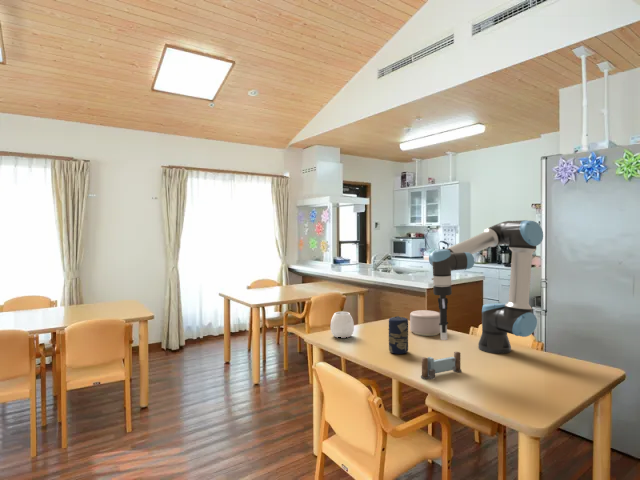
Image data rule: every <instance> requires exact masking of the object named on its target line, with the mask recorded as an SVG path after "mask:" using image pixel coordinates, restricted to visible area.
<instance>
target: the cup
mask: <svg viewBox="0 0 640 480" xmlns="http://www.w3.org/2000/svg"><path fill="white" fill-rule="evenodd" d="M354 328H355V325H354V319H353V317H352V315H351V313H350V312H348V311H336V312H334V313H333V315H332V317H331V320H330V332H331V334H332V336H333V337H335V338H338V337H341V339H345V338H346V337H347V338H349V337H351V336H352V335H353V333H354V330H355V329H354Z"/></svg>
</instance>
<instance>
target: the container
mask: <svg viewBox="0 0 640 480" xmlns="http://www.w3.org/2000/svg"><path fill="white" fill-rule="evenodd" d="M439 323H440V311H435V310H430V309H429V310H427V309H423V310H422V309H421V310H420V309H418V310H413V311H411V312H410V313H409V330H410V331H411V332H412V333H413V334H415V335H418V336H424V337H426V336H427V337H428V336H429V337H430V336H431V337H432V336H433V337H434V336H437V335H439V334H441V333H440V325H439Z"/></svg>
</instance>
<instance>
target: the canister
mask: <svg viewBox="0 0 640 480" xmlns="http://www.w3.org/2000/svg"><path fill="white" fill-rule="evenodd" d="M387 330H388V350H389V352H390V353H391V354H395V355H403V354H407V353H408V352H409V320H408V318H407V317H401V316H399V315H397V316H392V317H390V318H389V319H388V329H387Z"/></svg>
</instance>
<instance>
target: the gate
mask: <svg viewBox="0 0 640 480" xmlns="http://www.w3.org/2000/svg"><path fill="white" fill-rule="evenodd" d="M427 358H428V376H429V370H431V369H434V370H435V374H440V373H445V372H451V371H453V370H455V369H456V366H455V361H456V358H454V356H449V357H444V358H439V359H434V357H431V356H427Z"/></svg>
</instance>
